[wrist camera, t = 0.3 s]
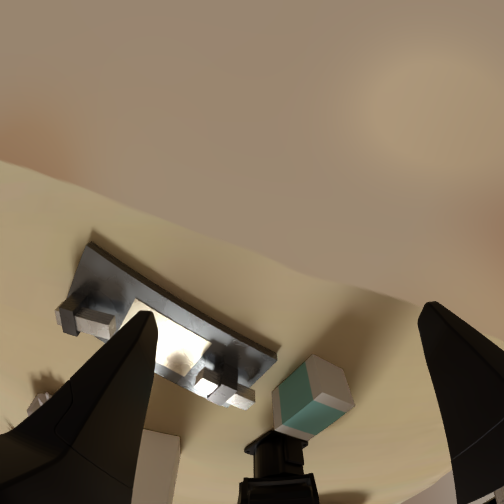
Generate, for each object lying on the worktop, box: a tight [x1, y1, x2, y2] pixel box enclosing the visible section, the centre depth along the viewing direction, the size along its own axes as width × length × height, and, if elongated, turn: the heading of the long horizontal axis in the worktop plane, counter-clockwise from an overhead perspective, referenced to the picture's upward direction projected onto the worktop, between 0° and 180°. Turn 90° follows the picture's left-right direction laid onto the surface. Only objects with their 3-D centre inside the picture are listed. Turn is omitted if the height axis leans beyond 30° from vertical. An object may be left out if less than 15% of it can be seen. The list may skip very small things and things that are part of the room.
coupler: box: [272, 354, 355, 441], centre depth 27 cm, size 7×4×5 cm, turn 145°
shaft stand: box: [55, 241, 277, 410], centre depth 25 cm, size 9×20×4 cm, turn 55°
